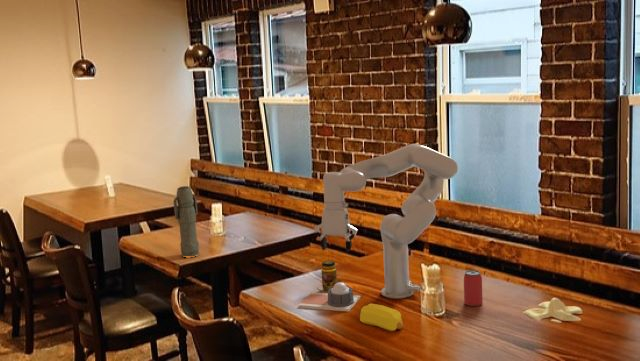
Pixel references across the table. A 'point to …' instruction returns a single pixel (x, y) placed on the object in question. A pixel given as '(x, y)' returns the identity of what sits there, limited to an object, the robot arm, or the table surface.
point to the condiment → (328, 275)
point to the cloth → (554, 311)
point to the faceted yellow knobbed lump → (381, 317)
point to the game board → (326, 307)
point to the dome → (340, 288)
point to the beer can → (473, 288)
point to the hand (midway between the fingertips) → (336, 249)
